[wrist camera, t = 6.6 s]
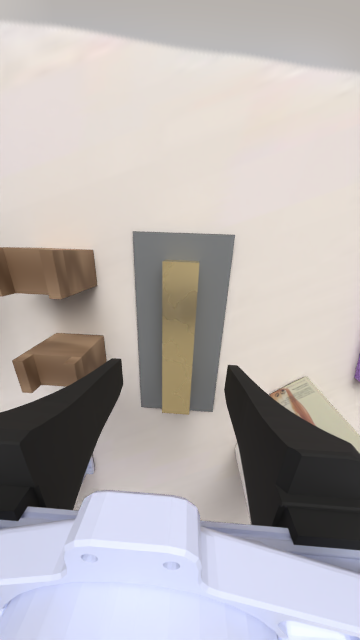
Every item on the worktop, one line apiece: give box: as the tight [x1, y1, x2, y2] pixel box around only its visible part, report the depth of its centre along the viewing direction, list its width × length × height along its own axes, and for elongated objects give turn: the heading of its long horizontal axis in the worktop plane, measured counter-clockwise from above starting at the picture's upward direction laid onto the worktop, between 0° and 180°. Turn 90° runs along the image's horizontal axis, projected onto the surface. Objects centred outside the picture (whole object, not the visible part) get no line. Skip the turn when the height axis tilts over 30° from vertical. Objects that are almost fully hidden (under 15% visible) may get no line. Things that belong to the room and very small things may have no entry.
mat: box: [133, 231, 235, 412], centre depth 18 cm, size 18×8×1 cm, turn 178°
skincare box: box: [270, 377, 360, 453], centre depth 15 cm, size 5×4×10 cm
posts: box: [0, 247, 106, 393], centre depth 15 cm, size 11×5×5 cm, turn 178°
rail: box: [162, 260, 199, 414], centre depth 17 cm, size 14×3×2 cm, turn 178°
